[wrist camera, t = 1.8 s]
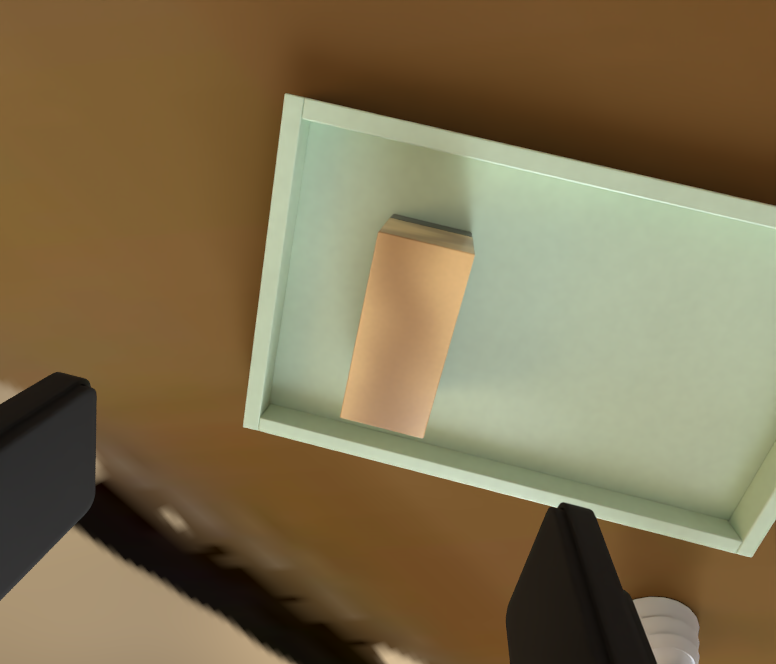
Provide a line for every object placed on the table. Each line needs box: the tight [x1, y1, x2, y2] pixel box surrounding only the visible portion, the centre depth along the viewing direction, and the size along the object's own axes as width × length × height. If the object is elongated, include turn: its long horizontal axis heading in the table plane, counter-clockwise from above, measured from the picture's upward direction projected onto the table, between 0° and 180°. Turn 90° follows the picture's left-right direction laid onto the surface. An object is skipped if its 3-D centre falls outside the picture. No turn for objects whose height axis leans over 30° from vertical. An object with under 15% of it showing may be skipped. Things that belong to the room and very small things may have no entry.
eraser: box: [340, 214, 475, 438], centre depth 22 cm, size 4×8×4 cm, turn 168°
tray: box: [243, 93, 776, 557], centre depth 24 cm, size 26×16×2 cm, turn 78°
